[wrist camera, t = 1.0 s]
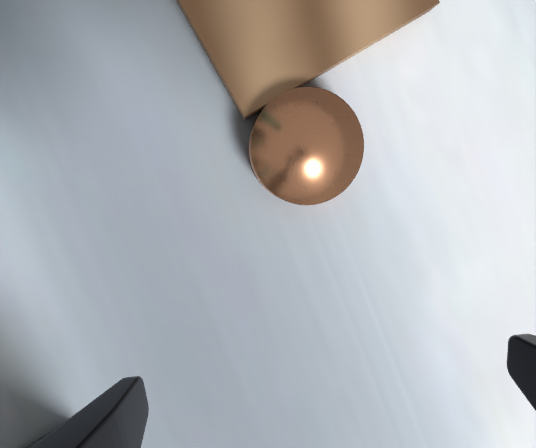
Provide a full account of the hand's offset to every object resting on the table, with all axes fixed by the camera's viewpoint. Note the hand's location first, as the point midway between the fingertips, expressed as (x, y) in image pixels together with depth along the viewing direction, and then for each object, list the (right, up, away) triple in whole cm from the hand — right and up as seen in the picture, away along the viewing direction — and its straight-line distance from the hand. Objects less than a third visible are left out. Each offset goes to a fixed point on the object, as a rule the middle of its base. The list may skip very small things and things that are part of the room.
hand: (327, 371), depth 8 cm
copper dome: (0, +8, +11) cm, 14 cm away
